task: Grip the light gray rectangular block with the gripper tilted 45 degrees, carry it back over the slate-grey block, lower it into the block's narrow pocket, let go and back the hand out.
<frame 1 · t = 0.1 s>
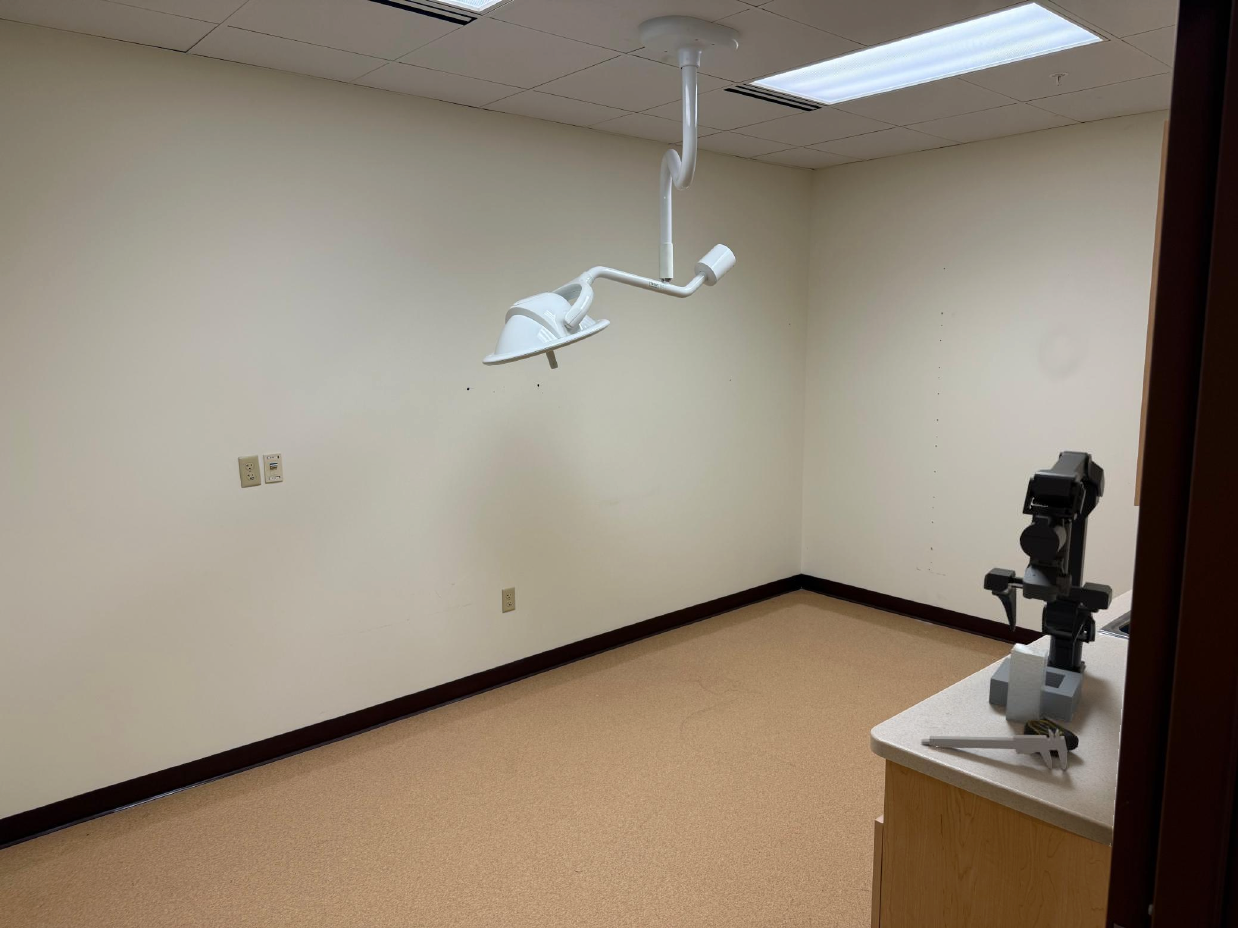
hand: (1042, 636, 143), 15 cm above the counter, fingers open, 9 cm apart
caliper: (990, 758, 133), on the counter
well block: (1035, 699, 152), on the counter
light gray rectangular block: (1023, 719, 145), on the counter
tape measure: (1047, 748, 136), on the counter
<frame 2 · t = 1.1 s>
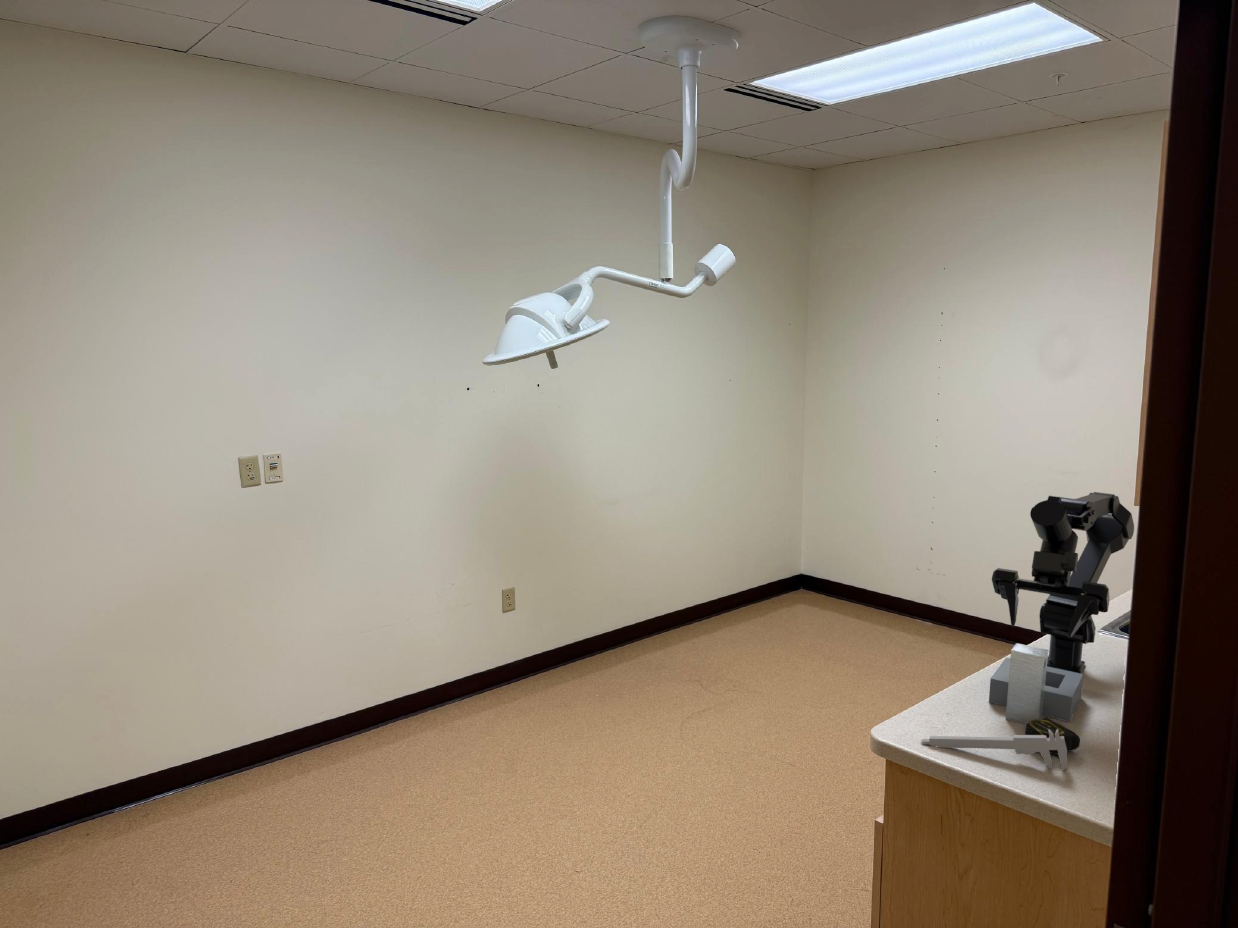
hand: (1040, 630, 149), 13 cm above the counter, fingers open, 9 cm apart
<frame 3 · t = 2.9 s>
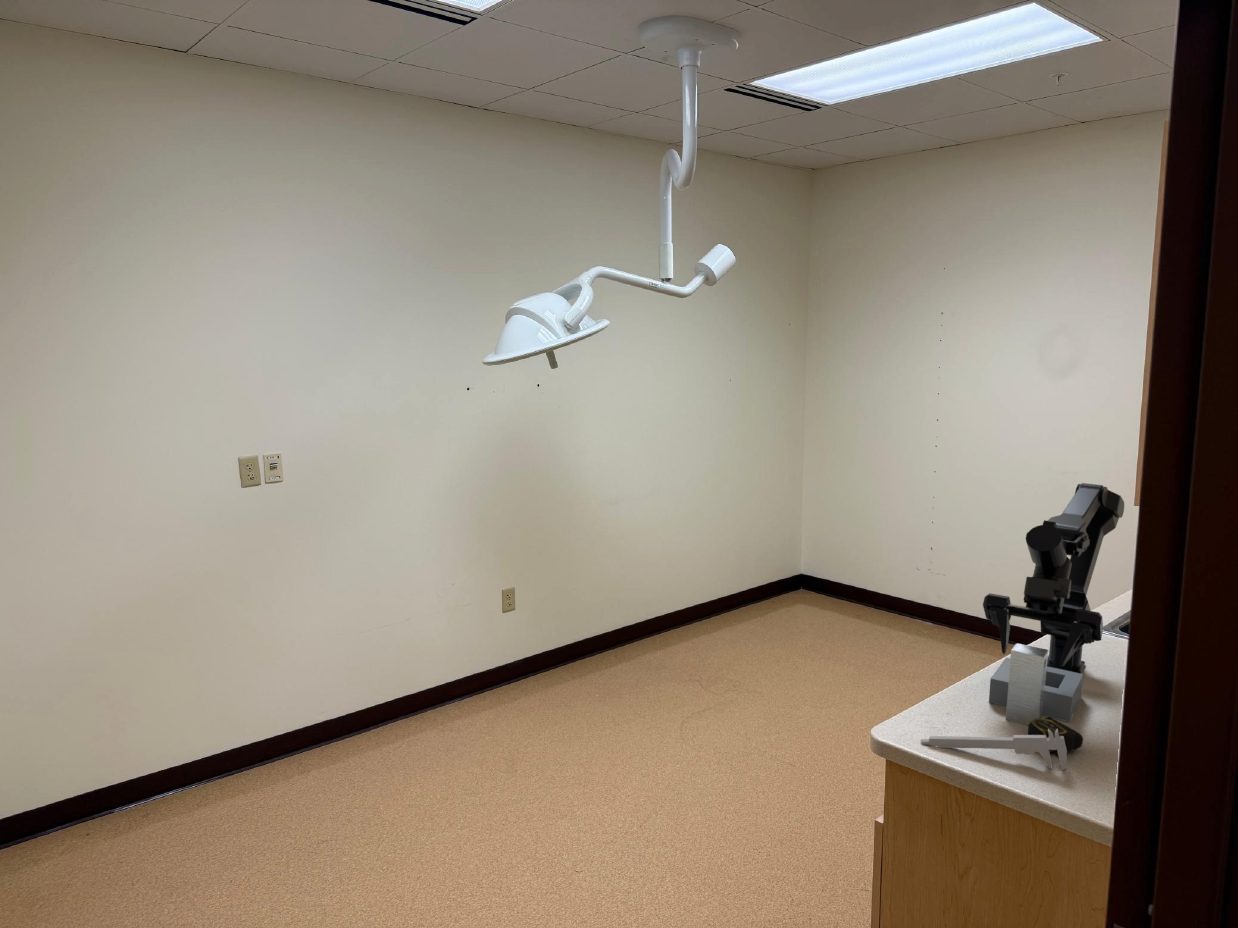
hand: (1031, 658, 146), 10 cm above the counter, fingers open, 9 cm apart
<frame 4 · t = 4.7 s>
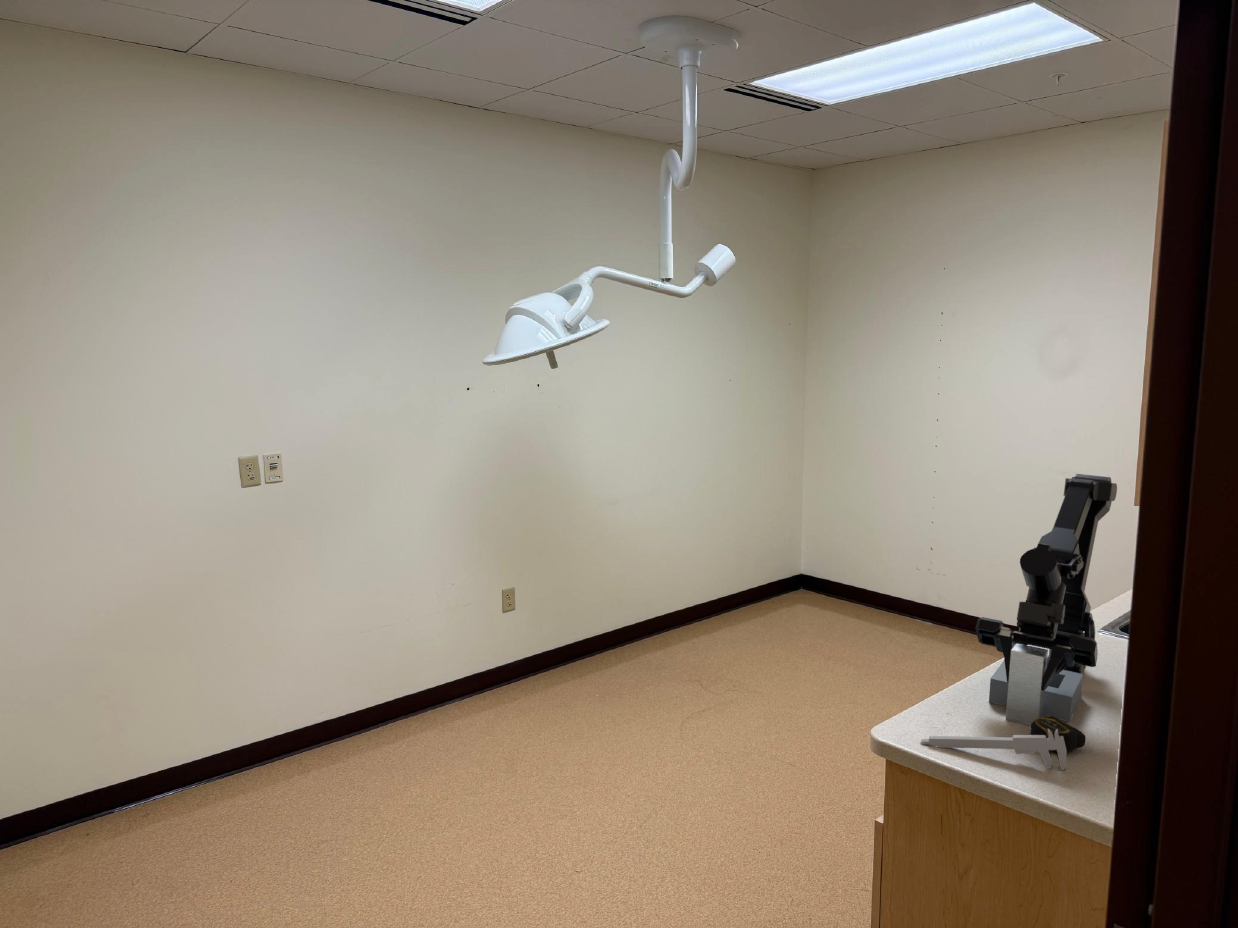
hand: (1025, 685, 143), 7 cm above the counter, fingers closed on light gray rectangular block, 5 cm apart
light gray rectangular block: (1023, 719, 145), on the counter, touching gripper
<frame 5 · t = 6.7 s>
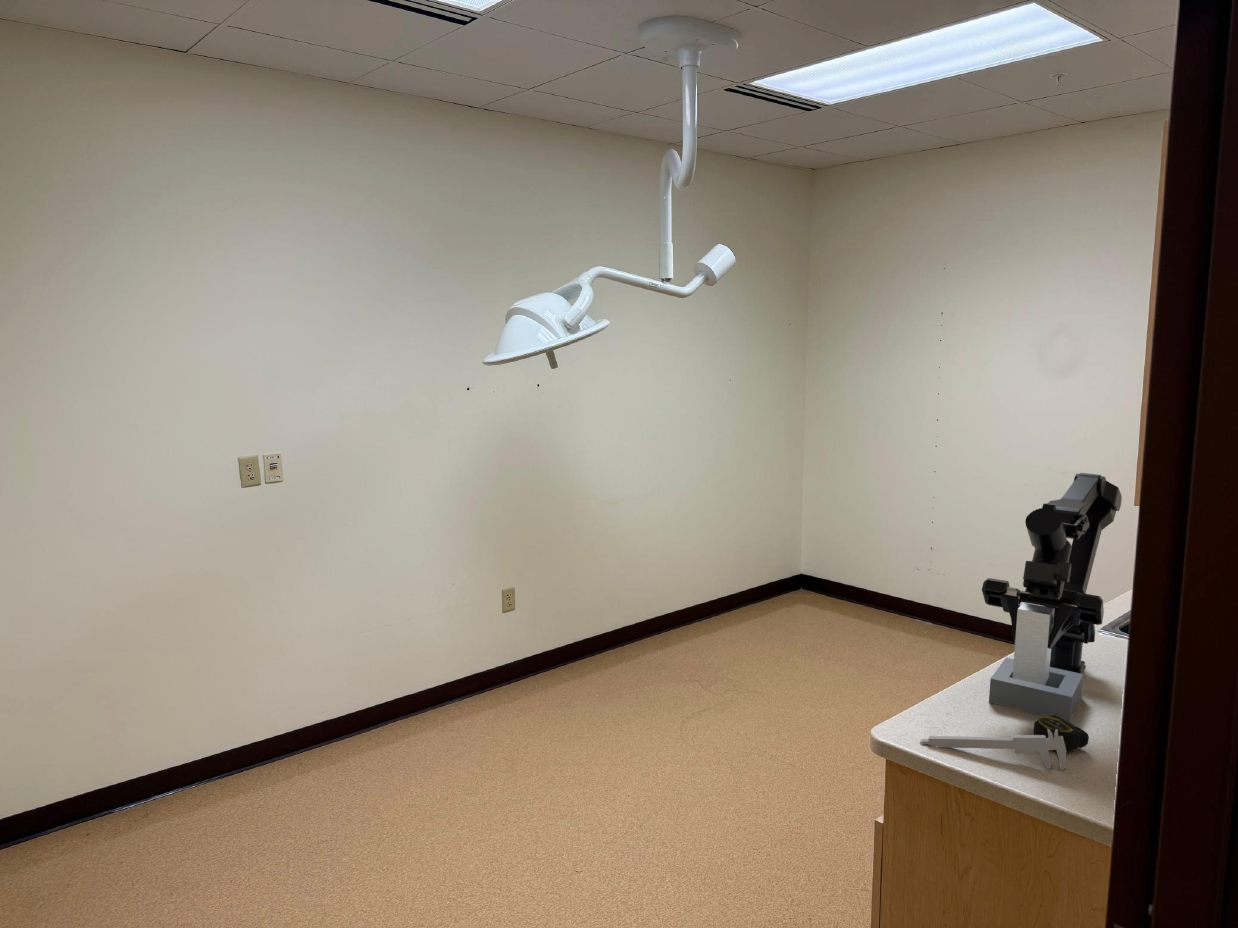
hand: (1031, 643, 144), 13 cm above the counter, fingers closed on light gray rectangular block, 5 cm apart
light gray rectangular block: (1030, 677, 146), point 7 cm above the counter, touching gripper
when the fingers open (8 cm above the counter, at t = 9.1 s): light gray rectangular block drops 1 cm, resting on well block.
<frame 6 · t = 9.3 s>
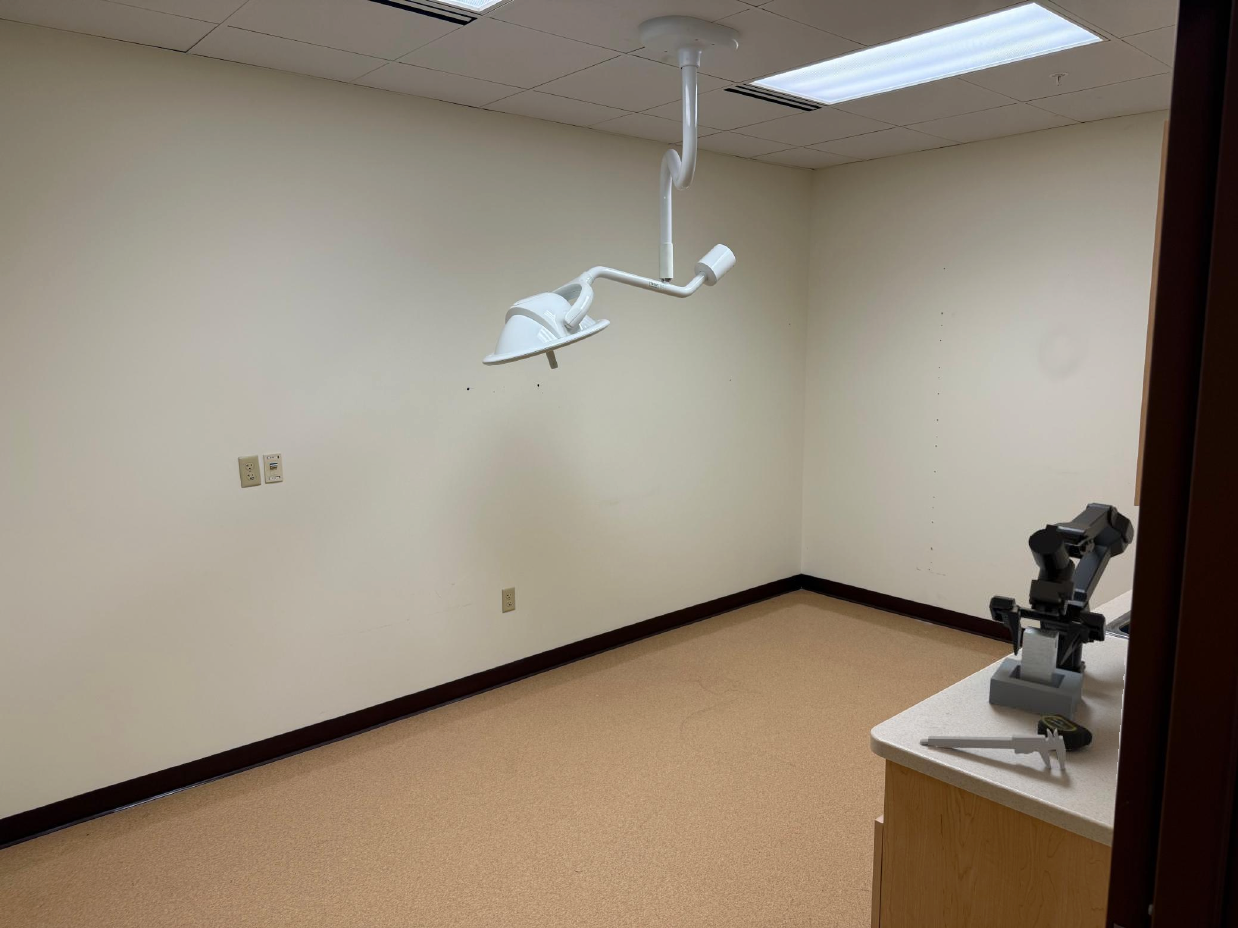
hand: (1037, 659, 150), 8 cm above the counter, fingers open, 7 cm apart
light gray rectangular block: (1035, 698, 152), resting on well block
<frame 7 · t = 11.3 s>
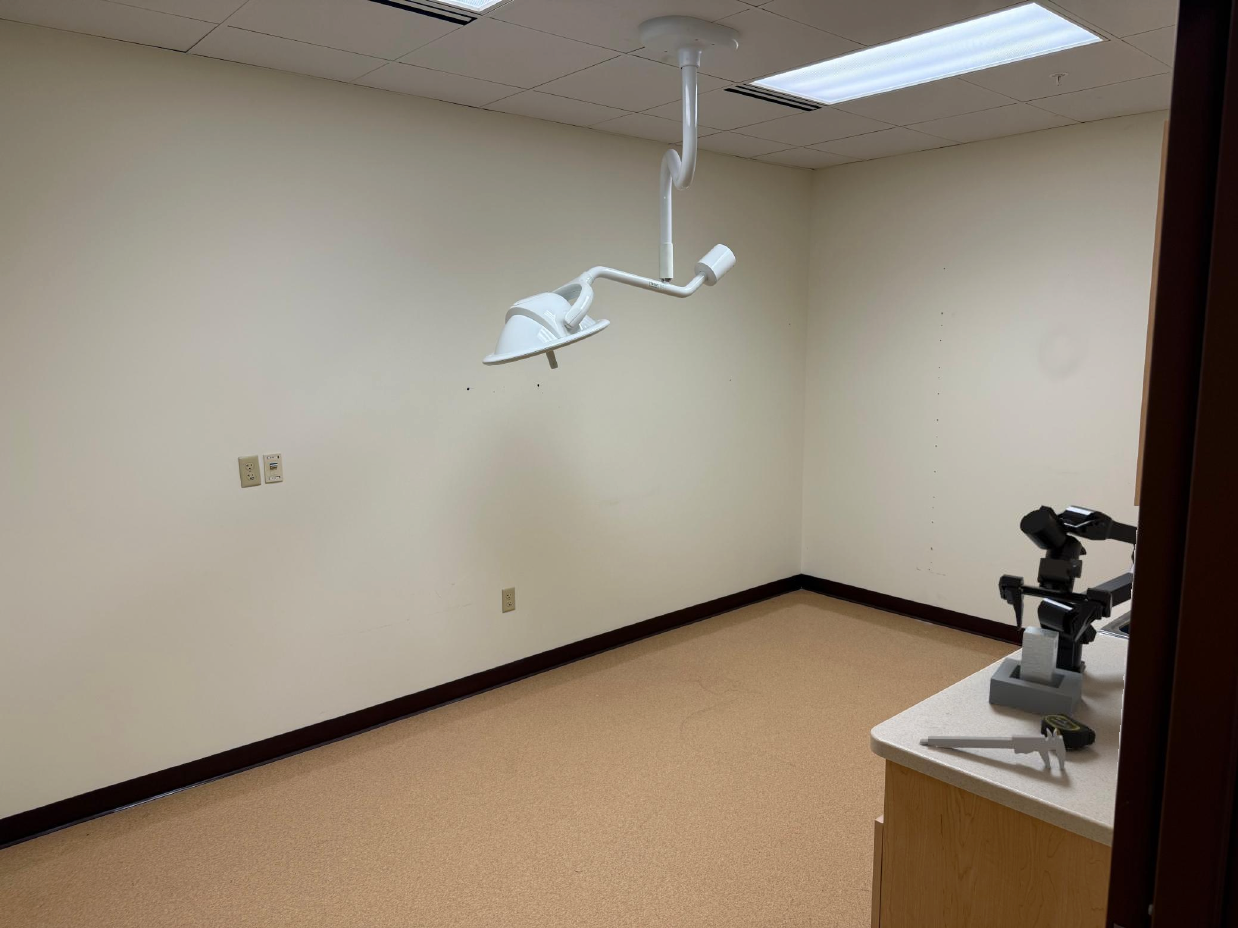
hand: (1045, 635, 155), 11 cm above the counter, fingers open, 9 cm apart
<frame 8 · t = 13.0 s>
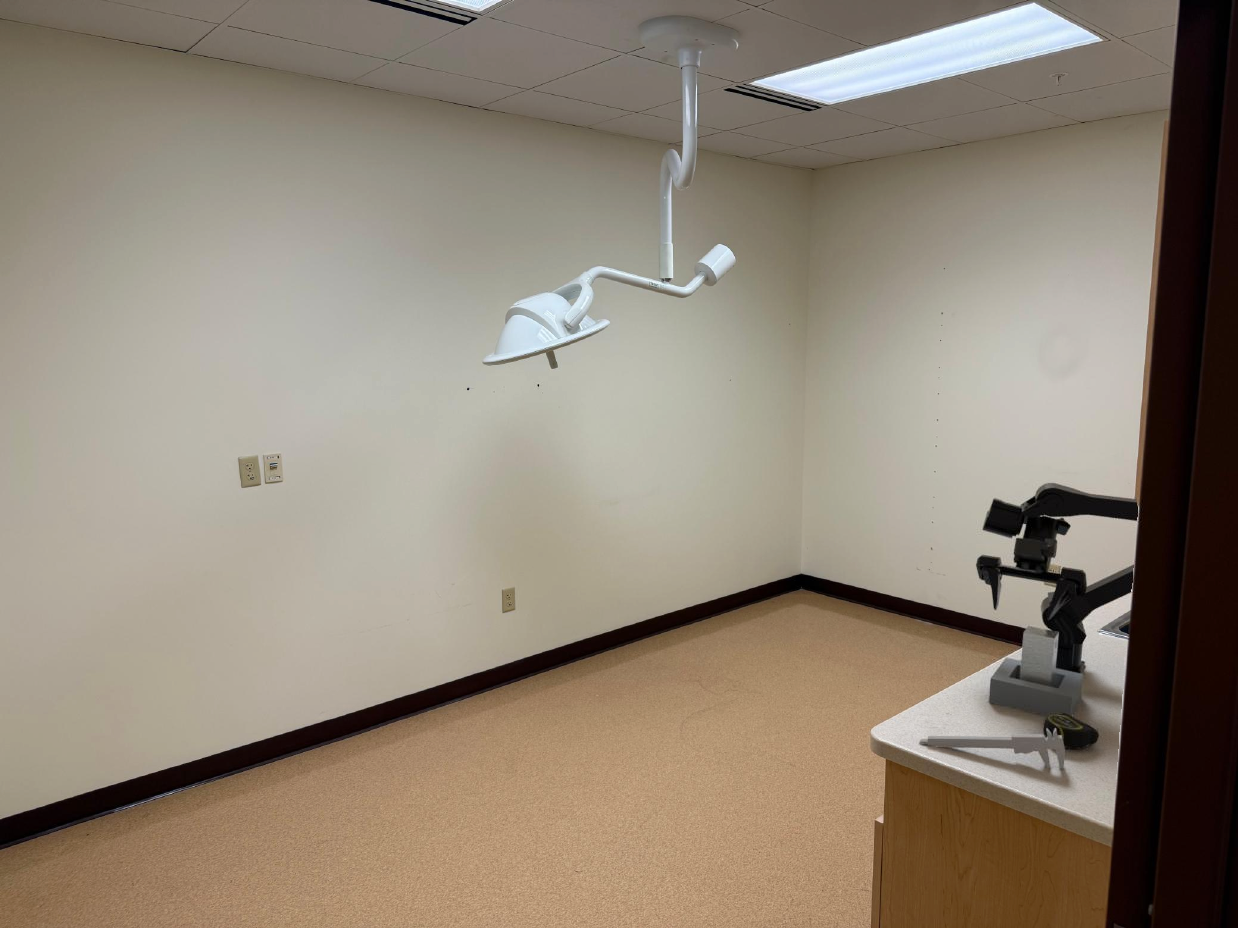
hand: (1021, 613, 158), 14 cm above the counter, fingers open, 9 cm apart
at the end: light gray rectangular block 0.0 cm off-centre on the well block, point 0.3 cm above the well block's base; the gripper is holding nothing; light gray rectangular block tilted 0° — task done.
